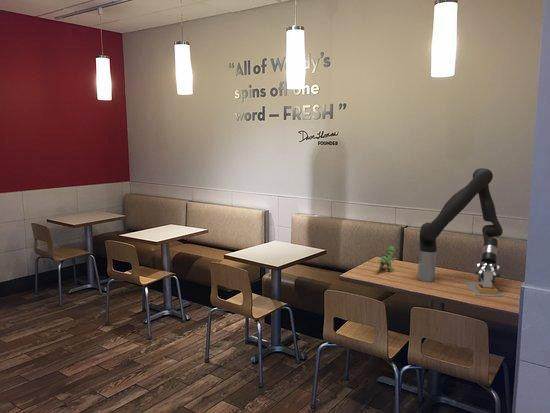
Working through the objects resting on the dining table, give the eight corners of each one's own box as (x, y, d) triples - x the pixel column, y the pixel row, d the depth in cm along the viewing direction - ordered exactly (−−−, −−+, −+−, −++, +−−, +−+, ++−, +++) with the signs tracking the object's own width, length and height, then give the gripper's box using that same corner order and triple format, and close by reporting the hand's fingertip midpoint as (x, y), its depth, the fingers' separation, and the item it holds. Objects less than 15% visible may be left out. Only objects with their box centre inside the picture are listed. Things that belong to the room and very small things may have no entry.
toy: (395, 267, 314) (396, 244, 311) (398, 276, 293) (399, 252, 291) (376, 266, 315) (377, 243, 313) (378, 275, 294) (379, 251, 292)
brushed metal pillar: (482, 289, 262) (484, 271, 261) (480, 287, 267) (481, 269, 265) (491, 290, 262) (493, 271, 260) (489, 287, 266) (490, 269, 265)
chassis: (475, 295, 259) (475, 289, 259) (464, 283, 281) (464, 277, 280) (503, 297, 258) (503, 290, 257) (489, 284, 279) (490, 278, 279)
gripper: (475, 250, 271) (471, 276, 262) (504, 253, 265) (501, 280, 256) (475, 257, 277) (472, 283, 268) (503, 260, 270) (501, 287, 261)
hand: (486, 281), depth 262 cm, fingers closed on brushed metal pillar, 5 cm apart
